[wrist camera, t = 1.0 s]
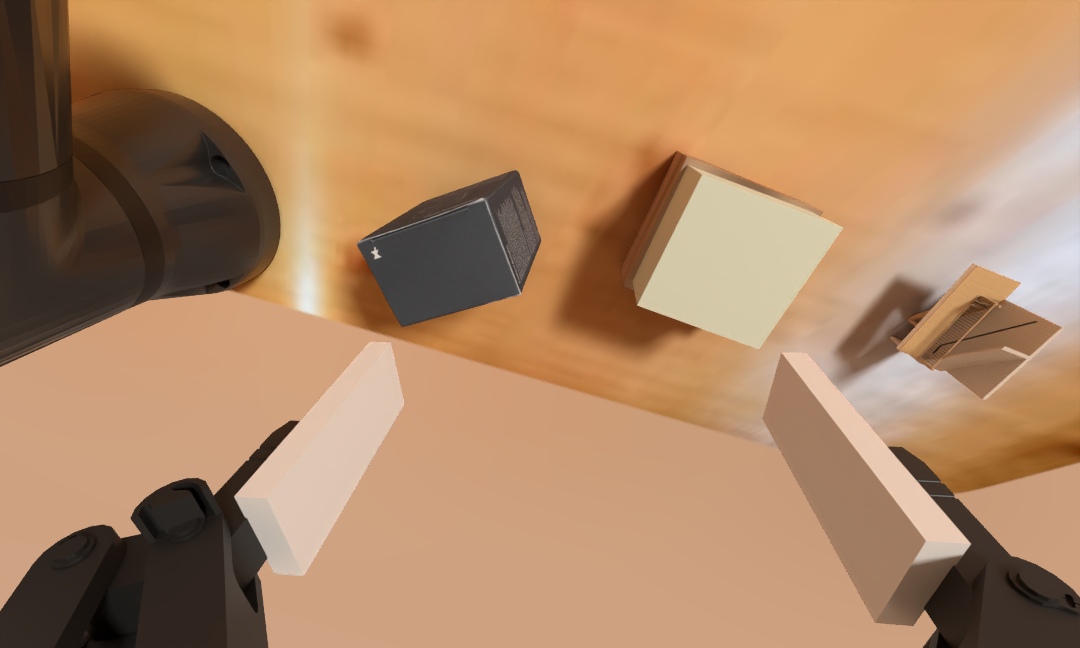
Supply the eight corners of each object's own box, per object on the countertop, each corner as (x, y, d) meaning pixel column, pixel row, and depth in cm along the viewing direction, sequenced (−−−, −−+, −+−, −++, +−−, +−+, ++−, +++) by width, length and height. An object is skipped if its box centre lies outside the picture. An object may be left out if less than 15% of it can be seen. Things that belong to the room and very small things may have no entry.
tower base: (620, 267, 33) (622, 286, 30) (676, 150, 29) (687, 156, 25) (725, 308, 34) (740, 331, 30) (796, 198, 29) (823, 211, 26)
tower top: (632, 281, 29) (637, 305, 26) (687, 164, 26) (702, 174, 22) (739, 320, 30) (758, 349, 26) (809, 210, 26) (843, 227, 22)
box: (452, 269, 34) (398, 330, 25) (423, 200, 32) (351, 240, 23) (544, 242, 32) (522, 297, 23) (519, 167, 30) (484, 195, 21)
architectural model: (867, 328, 33) (933, 384, 26) (935, 247, 30) (1030, 288, 23) (906, 343, 33) (982, 402, 27) (979, 265, 30) (1085, 310, 23)
